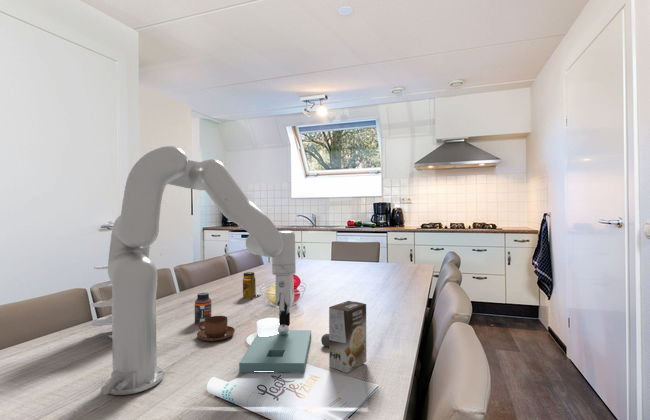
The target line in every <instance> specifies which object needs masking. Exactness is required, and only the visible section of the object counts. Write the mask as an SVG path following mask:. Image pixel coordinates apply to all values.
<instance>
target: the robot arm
mask: <svg viewBox="0 0 650 420" xmlns="http://www.w3.org/2000/svg"><path fill="white" fill-rule="evenodd" d="M167 185H170V186H176V187H179V188H180V187H181V188H184V189H189V190H190V189H191V190H197V191H205V193H207V195H208V197H209V198H210V199H211V200H212V202H213V203H214V204H215V206H216V207H217V208H218V210H219V212H221V214H222V215H223V216H224V217H225V218H226V219H228V220H229V221H231V222H232V223H234V224H236V225H238V226H239V227H241V228H242V229H244V230H245V231H246V232H247V233H248V234H249V235H248V236H247V238H246V239H245V247H246V250H247V251H249V252H250V253H251V254H253V255H256V256H259V257H260V256H261V257H265V258H271V262H272V263H271V264H272V265H271V267H272V269H271V270H272V271H271V273H272V275H274V276H275V280H274V281H275V293H274V294H275V305H276V307H278V310H279V311H278V312H279V313H278V315H279V316H278V323H280V325H281V324H286V325H287V326H288V327H290V324H291V313H290V307H292V305H293V303H294V301H295V289H294V288H295V287H294V286H295V285H294V275H295V274H296V270H297V269H296V267H297V266H296V234H295V232H293V231H292V230H278V228H277V227H276V226H275V224H274V223H273V221H272V220H271V219H270V218H269V216H268V215H266V213H264V212H263V211H262V210H261V209H260V208H258V207H257V205H255V204H254V203H253V202H252V201H251V200H250V199H249V198H248V197H247V195H246V194H245V193H244V191H243V189H241V187H240V186H239V184H238V182H237V181H236V180H235V179H234V177H233V175H232V174H231V173H230V171H229V170H228V168H227V167H226V166H225V164H223V162H221V161H219V160H217V159H205V160H203V161H197V160H191V159H189V158H188V155H187V154H186V153H185V151H184V150H183V149H181V148H179V147H176V146H174V145H173V146H172V145H167V146H161V147H158V148H155V149H153V150H151V151H149V152H147V153H146V154H144V155H143V156H141V157H140V158H139V160H137V161H136V162H135V163H134V165H133V166H132V168H131V169H130V172H129V173H128V175H127V178H126V181H125V186H124V191H123V198H122V205H121V211H120V215H118V217H117V218H116V219H115V221H114V222H113V224H112V229H111V234H110V235H111V236H110V245H109V252H108V262H107V264H108V269H107V274H108V277H109V279H110V281H112V286H111V289H112V293H111V295H112V296H111V298H112V306H111V316H112V325H111V327H112V328H111V331H112V333H111V335H112V338H111V340H112V343H111V344H112V372H111V373H110V374H111V375H110V377H109V378H108V379H107V381H106V382H105V384H104V385H103V386H102V387H101V388H100V392H101V394H103V395H104V396H105V395H108V394H109V395H115V396H124V395H125V396H126V395H127V396H128V395H132V394H133V395H134V394H137V393H141V392H143V391H146V390H149V389H151V388H153V387H156V385H158V384H159V383H160V382H161V381H162V380H163V379H164V370H163V369H162V368H161V367H159V366H158V365H157V361H158V359H157V354H158V353H157V290H158V277H159V276H158V269H157V267H156V265H155V263H154V261H152V259H150V256H149V255H150V248H151V247H150V246H152V244H153V243H155V241H156V240H157V238H158V236H159V232H160V231H159V230H160V216H161V207H162V206H161V204H162V199H163V194H164V191H165V189H166V187H167ZM280 325H279V326H280Z"/></svg>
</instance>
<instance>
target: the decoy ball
mask: <svg viewBox="0 0 650 420" xmlns="http://www.w3.org/2000/svg"><path fill="white" fill-rule="evenodd" d="M320 341H321V345H322V346H324V347H326V348H329V333H325V334H323V335H322V336H321V340H320Z"/></svg>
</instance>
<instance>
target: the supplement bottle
mask: <svg viewBox="0 0 650 420" xmlns="http://www.w3.org/2000/svg"><path fill="white" fill-rule="evenodd" d="M209 294H210V293H209V292H199V293H197V296H196V297H197V298H196V299H195V300H194V324H195V325H196V326H198V324H199V323H200V322H201V321H204V320H205V319H206V318H209V317H212V316H213V315H212V299H211V298H210V296H209ZM200 326H204V323H201V324H200Z"/></svg>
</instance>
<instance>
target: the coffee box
mask: <svg viewBox="0 0 650 420" xmlns="http://www.w3.org/2000/svg"><path fill="white" fill-rule="evenodd" d="M328 308H329V309H328V315H329V316H328V321H329V322H328V324H329V325H328V327H329V329H328V330H329V331H328V334H329V347H328V349H329V350H328V354H329V356H328V357H329V359H328V360H329V361H328V363H329V364H328V365H329V368H332V369H335V370H337V371H340V372H343V373H346V374H348V373H350V372H353V370H355V369H357V368H359V367H360V366H362V365H363V364H365V363H366V362H367V304H366V303H363V302H358V301H351V300H347V301H344V302H341V303H338V304H333V305H332V306H329V307H328Z"/></svg>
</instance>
